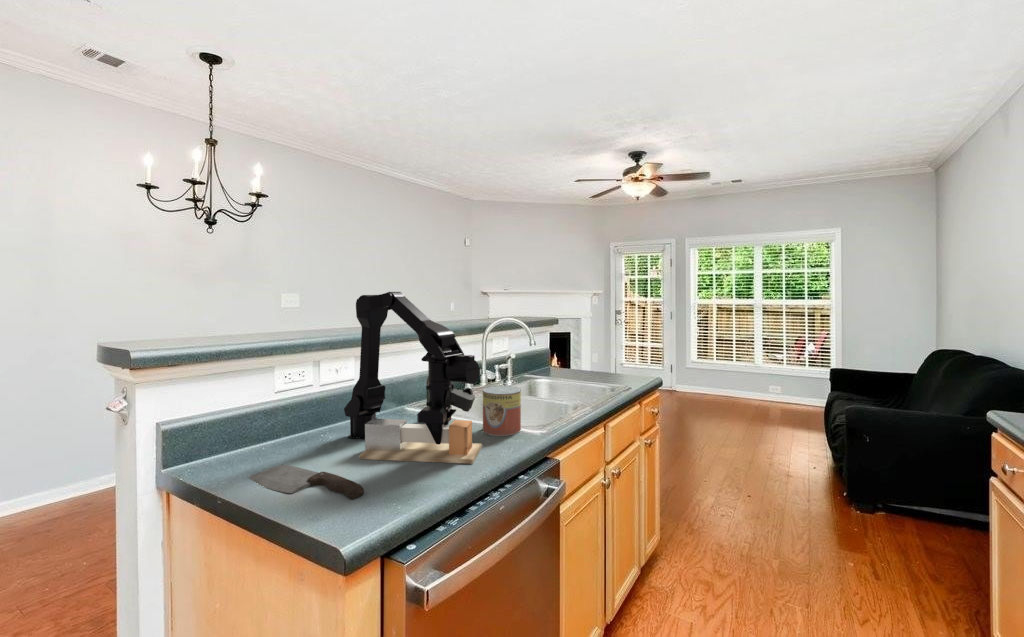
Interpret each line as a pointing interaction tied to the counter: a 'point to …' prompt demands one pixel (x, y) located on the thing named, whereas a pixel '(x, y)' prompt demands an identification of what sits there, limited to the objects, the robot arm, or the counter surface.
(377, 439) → the sleeve
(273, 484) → the cleaver
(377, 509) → the counter surface
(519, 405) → the canned food
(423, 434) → the off-white square bar
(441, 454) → the board
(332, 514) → the counter surface
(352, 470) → the counter surface
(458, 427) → the orange rectangular block
